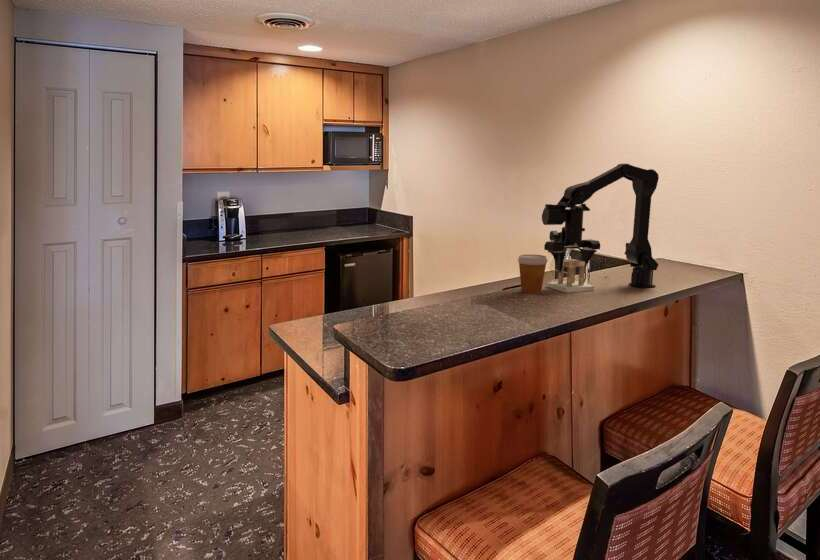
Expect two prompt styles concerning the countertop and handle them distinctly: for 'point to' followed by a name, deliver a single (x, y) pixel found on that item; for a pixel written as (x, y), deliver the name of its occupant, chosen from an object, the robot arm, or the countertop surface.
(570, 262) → the maple stool
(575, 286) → the sage board
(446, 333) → the countertop surface
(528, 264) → the disposable coffee cup
